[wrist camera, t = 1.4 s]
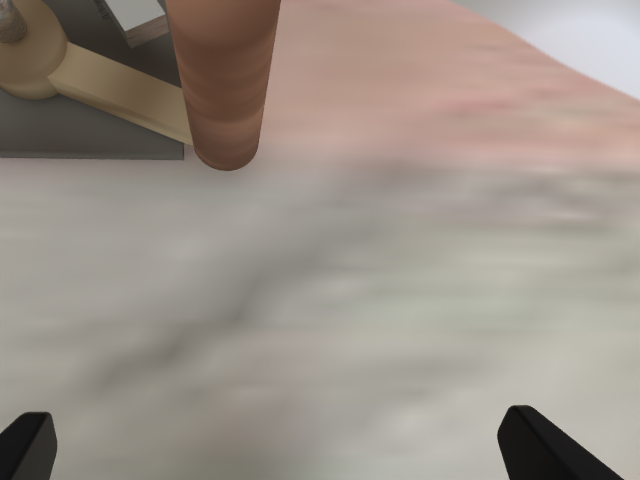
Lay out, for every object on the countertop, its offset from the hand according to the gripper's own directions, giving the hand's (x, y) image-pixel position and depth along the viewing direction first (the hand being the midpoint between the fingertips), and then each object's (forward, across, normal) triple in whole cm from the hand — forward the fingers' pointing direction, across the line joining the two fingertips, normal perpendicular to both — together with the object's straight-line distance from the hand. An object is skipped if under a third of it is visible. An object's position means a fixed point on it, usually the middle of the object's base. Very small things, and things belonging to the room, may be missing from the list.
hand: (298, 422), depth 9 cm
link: (+16, +6, -2) cm, 18 cm away
